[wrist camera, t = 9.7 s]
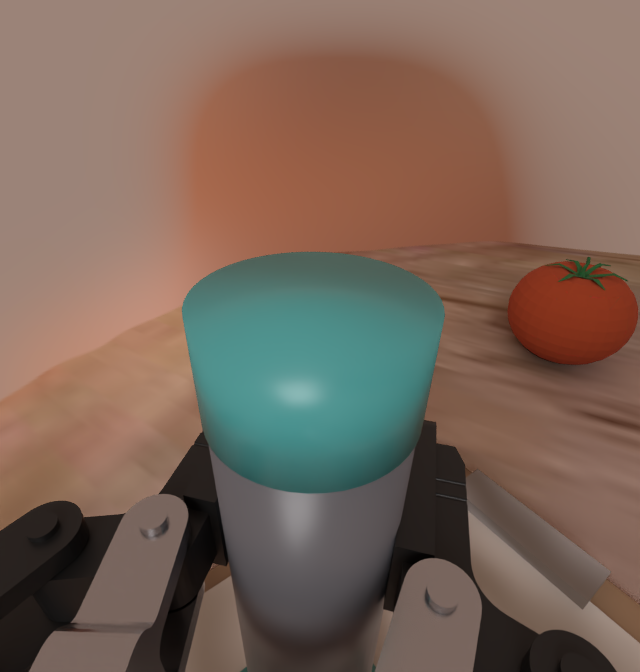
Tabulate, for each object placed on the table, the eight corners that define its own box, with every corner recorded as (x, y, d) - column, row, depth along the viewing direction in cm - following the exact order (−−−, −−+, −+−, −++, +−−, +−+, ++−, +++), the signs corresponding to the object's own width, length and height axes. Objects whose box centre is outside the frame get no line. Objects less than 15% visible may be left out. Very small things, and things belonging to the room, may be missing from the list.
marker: (322, 578, 15) (336, 239, 8) (397, 682, 12) (500, 312, 6) (226, 649, 13) (146, 282, 6) (291, 790, 10) (268, 420, 4)
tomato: (475, 340, 43) (498, 246, 37) (545, 319, 46) (575, 232, 41) (562, 400, 35) (608, 293, 29) (638, 370, 39) (690, 269, 33)
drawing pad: (423, 442, 31) (428, 415, 29) (705, 667, 19) (736, 641, 18) (55, 675, 18) (34, 649, 17) (214, 1691, 7) (190, 1863, 6)
